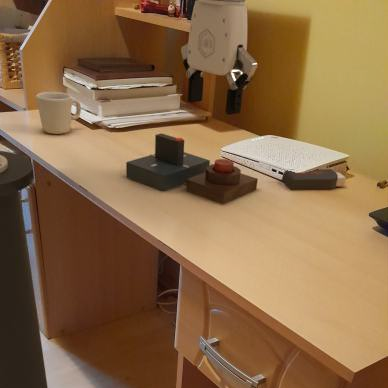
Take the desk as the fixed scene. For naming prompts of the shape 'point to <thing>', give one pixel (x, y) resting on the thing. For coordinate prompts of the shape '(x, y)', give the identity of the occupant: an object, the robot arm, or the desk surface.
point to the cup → (56, 111)
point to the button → (223, 166)
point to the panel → (165, 170)
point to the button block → (221, 184)
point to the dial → (169, 149)
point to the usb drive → (313, 179)
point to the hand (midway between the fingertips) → (213, 107)
